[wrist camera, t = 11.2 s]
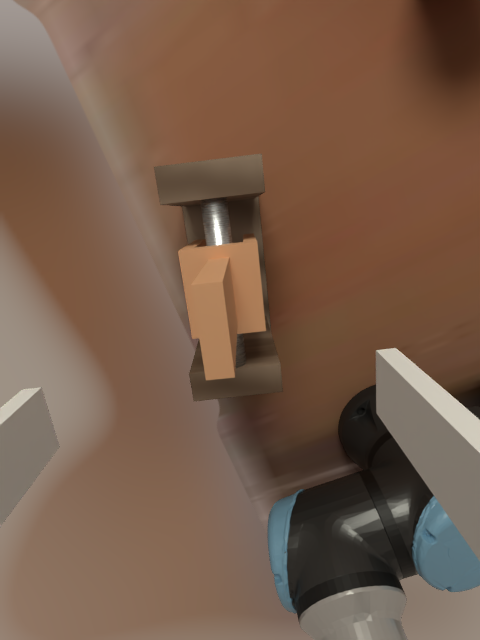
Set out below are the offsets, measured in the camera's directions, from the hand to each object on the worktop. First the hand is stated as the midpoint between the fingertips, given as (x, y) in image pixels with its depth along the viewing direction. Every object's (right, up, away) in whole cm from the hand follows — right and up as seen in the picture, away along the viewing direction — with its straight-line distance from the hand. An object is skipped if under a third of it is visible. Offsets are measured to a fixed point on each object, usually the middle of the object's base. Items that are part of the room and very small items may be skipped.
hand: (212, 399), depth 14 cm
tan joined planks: (0, +9, +29) cm, 30 cm away
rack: (-1, +11, +37) cm, 38 cm away
